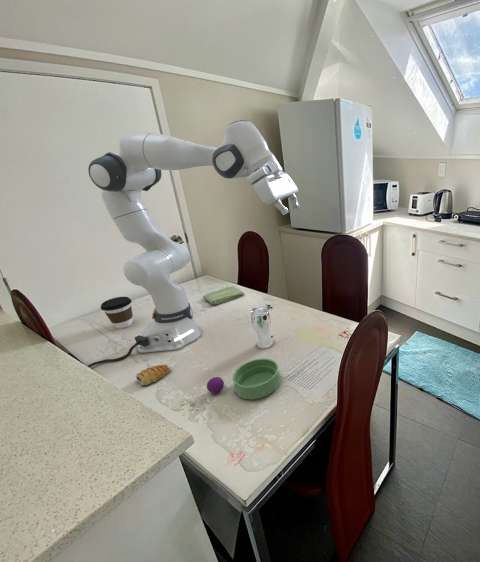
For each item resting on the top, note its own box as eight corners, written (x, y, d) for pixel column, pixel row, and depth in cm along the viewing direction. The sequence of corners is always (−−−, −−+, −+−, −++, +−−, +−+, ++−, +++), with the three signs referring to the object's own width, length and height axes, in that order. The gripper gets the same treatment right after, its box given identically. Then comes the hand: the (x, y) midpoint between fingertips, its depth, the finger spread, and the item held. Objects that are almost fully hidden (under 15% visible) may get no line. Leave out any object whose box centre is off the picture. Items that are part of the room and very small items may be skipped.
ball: (207, 398, 100) (204, 386, 98) (209, 387, 104) (206, 375, 102) (224, 394, 101) (221, 382, 99) (225, 384, 106) (222, 372, 104)
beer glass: (268, 350, 123) (263, 317, 117) (252, 348, 124) (246, 315, 118) (277, 340, 129) (272, 308, 123) (262, 338, 130) (256, 306, 124)
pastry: (164, 366, 115) (161, 357, 113) (173, 373, 111) (170, 364, 109) (135, 380, 107) (132, 372, 106) (144, 388, 104) (140, 379, 102)
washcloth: (245, 295, 168) (244, 290, 167) (212, 307, 156) (211, 301, 155) (234, 288, 176) (233, 283, 175) (202, 299, 164) (200, 294, 163)
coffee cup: (110, 334, 135) (100, 310, 130) (108, 324, 142) (98, 301, 137) (140, 325, 141) (132, 301, 136) (137, 316, 149) (129, 293, 144)
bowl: (235, 405, 97) (231, 392, 94) (236, 376, 109) (233, 364, 107) (282, 394, 101) (279, 380, 99) (278, 367, 113) (276, 354, 111)
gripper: (274, 174, 109) (296, 209, 112) (243, 180, 90) (271, 222, 94) (288, 164, 107) (310, 201, 110) (259, 169, 88) (287, 212, 92)
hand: (292, 210), depth 102 cm, fingers open, 8 cm apart
